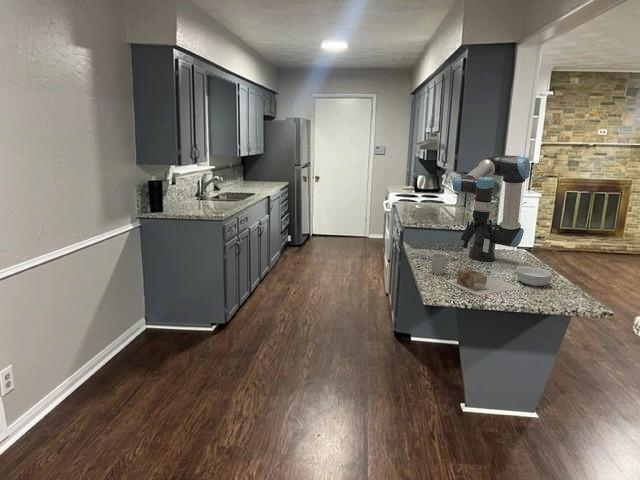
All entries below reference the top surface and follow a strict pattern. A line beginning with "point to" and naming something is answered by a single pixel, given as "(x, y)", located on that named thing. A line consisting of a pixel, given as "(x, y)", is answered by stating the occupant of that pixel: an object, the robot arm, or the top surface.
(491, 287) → the mat
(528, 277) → the cereal bowl
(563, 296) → the top surface
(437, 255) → the cup
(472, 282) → the block
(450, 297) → the top surface
